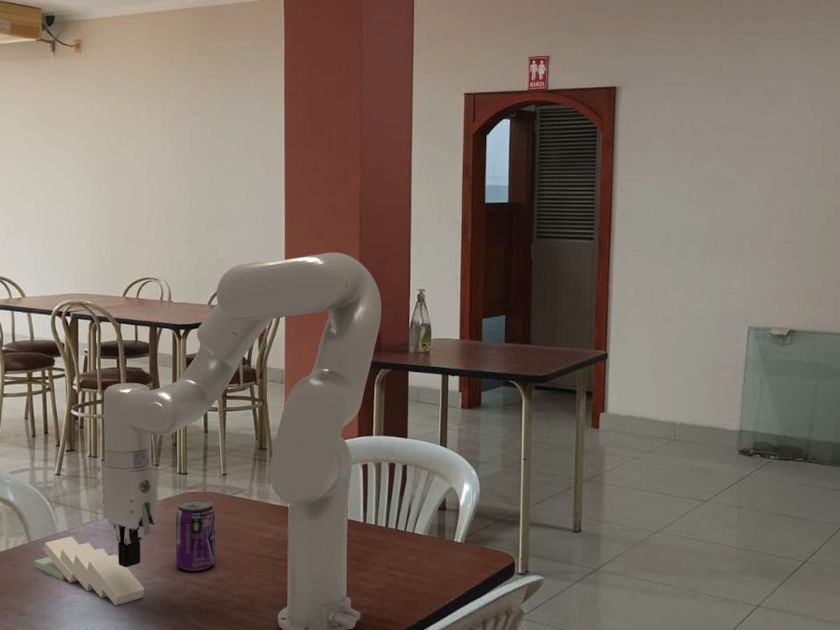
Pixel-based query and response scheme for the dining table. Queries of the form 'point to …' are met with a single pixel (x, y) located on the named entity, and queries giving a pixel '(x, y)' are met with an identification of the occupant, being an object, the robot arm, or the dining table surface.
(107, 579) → the tile
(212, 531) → the beverage can
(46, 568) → the tile
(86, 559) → the tile
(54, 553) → the tile
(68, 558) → the tile
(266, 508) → the dining table surface
